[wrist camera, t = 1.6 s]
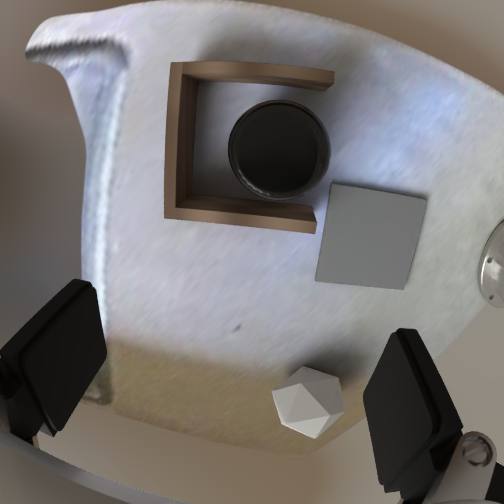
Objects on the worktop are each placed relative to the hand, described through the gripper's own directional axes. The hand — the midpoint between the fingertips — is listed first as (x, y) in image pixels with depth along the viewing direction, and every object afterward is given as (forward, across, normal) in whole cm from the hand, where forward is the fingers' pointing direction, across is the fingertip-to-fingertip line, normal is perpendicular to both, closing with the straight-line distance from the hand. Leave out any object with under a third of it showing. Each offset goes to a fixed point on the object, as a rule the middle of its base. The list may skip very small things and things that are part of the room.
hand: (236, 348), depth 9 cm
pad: (+22, -11, +3) cm, 24 cm away
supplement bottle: (+22, -1, -5) cm, 22 cm away
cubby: (+22, +2, -5) cm, 22 cm away
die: (+22, -9, +23) cm, 33 cm away
